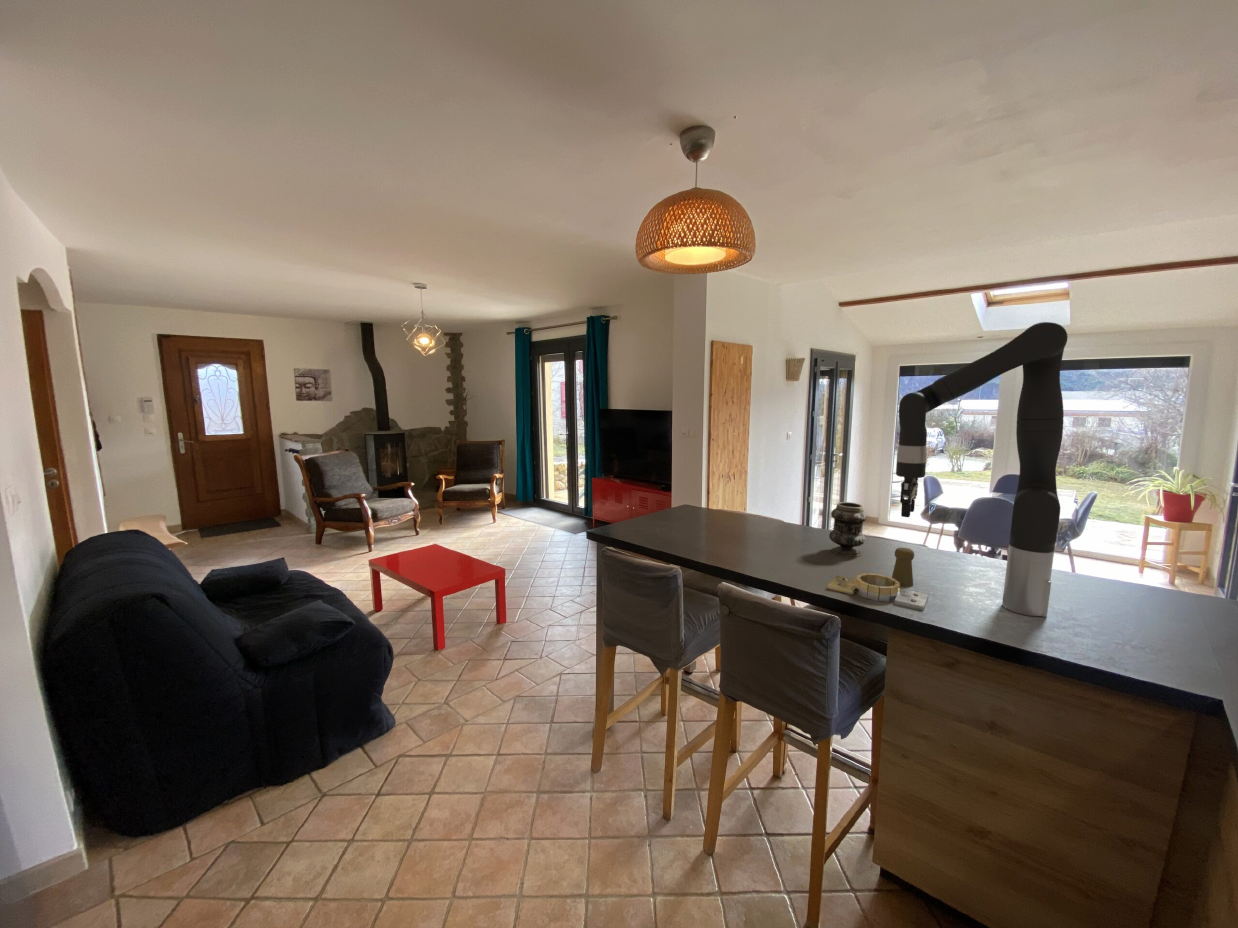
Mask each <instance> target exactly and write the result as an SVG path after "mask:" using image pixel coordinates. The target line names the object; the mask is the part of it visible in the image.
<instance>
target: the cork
mask: <svg viewBox="0 0 1238 928" xmlns="http://www.w3.org/2000/svg"><path fill="white" fill-rule="evenodd" d="M894 557H895V563H894V567H893V572H892V575H891V578H893V579H895V580H897V581H898V582H899V583H900V587H902V588H911V587H913V586H914V576H913V562H912V561H913V560H914V557H915V552H914V551H913V550H912V549H911V548H908V547H898V548H896V549H895V550H894Z"/></svg>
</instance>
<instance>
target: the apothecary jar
mask: <svg viewBox="0 0 1238 928" xmlns="http://www.w3.org/2000/svg"><path fill="white" fill-rule="evenodd" d="M835 507H836V508H834V509H832V511H831V512H830V514H831V517H832V519H834V522H833V528H832V530H831V531H830V532H829V534H828V537H829V539H830V540H831V541H832V542H833V543H834V544H836V545H838V546H835V547H833V548H832V549H831V552H832V553H834V554H836V555H839V556H844V557H860V556H861V555H862V552H861V551H860V550H858V549H857V548H855V547H860V546H863V544H865V542H866V536H865V535H864V534H863V525H864V522H866V520H867V519H868V515H867V513H866V512H865V511H864V508H863V507H864V506H863V505H862V504H860V503H856V502H850V501H839V502H838V503H837V504H836V506H835Z"/></svg>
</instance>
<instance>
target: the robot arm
mask: <svg viewBox="0 0 1238 928" xmlns="http://www.w3.org/2000/svg"><path fill="white" fill-rule="evenodd" d="M1067 344H1068V333H1067V330H1066V329H1065V327H1064V326H1063V325H1062V324H1059V323H1057V322H1055V321H1041V322H1037V323H1034V324H1032V325H1030V326H1029V327H1027V328H1026V329H1025V330H1024V331H1023V332H1022V333H1020V334H1018V335H1017V336H1016V337H1014V338H1013V339H1012V340H1010V341H1009V342H1007V343H1005V344H1004V345H1003V346H1001V347H999V348H997V349H996V350H994V351H992V352H990V353H988V354H986V355H985V356H983V357H981V358H978V359H976V360H974V361H972V362H970V363H967V364H966V365H963V366H961V367H959V368H957V369H955V370H953V371H951V372H949V373H948V374H946V375H944V376H942V377H939V378H938V379H936V380H935V381H934V382H933V383H931V384H929V385H927V386H925V387H923V388H921V389H918V390H917V391H915V392H909V393H906V394H905V395H904V396H903V397H902V398H901V399H900V401H899V404H898V418H899V419H898V420H899V421H898V423H899V434H898V435H899V436H898V446H897V447H898V448H897V453H896V466H895V468H896V469H895V475H896V476H897V477H901V478H904V480H903V481H902V482H901V483H900V489H901V490H900V498H899V499H900V500H899V503H900V504H901V510H900V511H901V512H900V513H901V514H900V515H901V517H902V518H910V517H911V513H914V511H915V506H916V505H915V503H916V499H917V495H918V487H919V482H918V481H919V479H923V478H924V477H926V470H927V469H926V468H927V455H928V454H927V453H928V452H927V438H928V431H927V427H926V420H927V419H926V418H927V413H929V412H931V411H933V410H935V409H937V408H938V407H940V406H942V405H943V404H946V403H948V402H951V401H954V400H955V399H958V398H960V397H962V396H964V395H967V394H969V393H970V392H972V391H974V390H976V389H978V388H980V387H982V386H983V385H985V384H987V383H988V382H990V381H992V380H993V379H995V378H997V377H999V376H1001V375H1003V374H1005V373H1007V372H1009V371H1011V370H1014V369H1017V368H1018V367H1021V366H1022V387H1021V390H1020V394H1019V399H1018V405H1017V412H1016V430H1015V431H1016V432H1015V433H1016V447H1017V455H1018V460H1019V473H1018V475H1019V476H1018V483H1017V489H1016V493H1015V497H1014V500H1013V507H1012V514H1011V515H1012V516H1011V523H1010V532H1009V541H1008V543H1009V544H1008V552H1007V560H1006V568H1005V578H1004V586H1003V594H1002V606H1003V607H1004V608H1005V609H1006V610H1008V611H1011V612H1012V613H1017V614H1021V615H1025V616H1030V617H1042V618H1047V617H1048V609H1049V604H1050V602H1049V601H1050V595H1051V588H1052V580H1051V578H1052V571H1053V563H1054V554H1055V548H1056V543H1057V537H1058V529H1059V525H1060V524H1059V523H1060V515H1061V504H1060V499H1059V496H1058V491H1057V490H1058V488H1057V473H1056V471H1057V470H1056V469H1057V464H1058V463H1057V462H1058V460H1059V457H1060V456H1059V455H1060V451H1061V447H1062V442H1063V433H1064V402H1063V394H1062V388H1061V387H1062V386H1061V380H1060V379H1061V367H1062V362H1063V357H1064V351H1065V347H1066V346H1067Z"/></svg>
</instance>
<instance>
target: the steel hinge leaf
mask: <svg viewBox="0 0 1238 928" xmlns="http://www.w3.org/2000/svg"><path fill="white" fill-rule="evenodd" d="M865 582H866V583H868V584H871V585H876V586H884V587H889V586H890V585H888V584H885V583H881V582H876V581H865ZM855 593H857V595H858V596H861V597H863V598H865V599H868V600H872V601H876V602H885V603H886V602H887V603H889V602H894V603H893V604H894V605H897V606H900V607H901V606H902V607H906V608H910V609H914V610H918V611H923V612H924V611H925V608H926V605H927V603H928V601H929V593H928V594H927V593H923V592H919V591H912V590H910V589H909V590H908V589H904V588H900V590H899V592H898V593H897V594H892V595H881V594H875V593H870V592H867V591H864V590H862V589H860V588H858V586H857V585H856V591H855Z"/></svg>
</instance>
